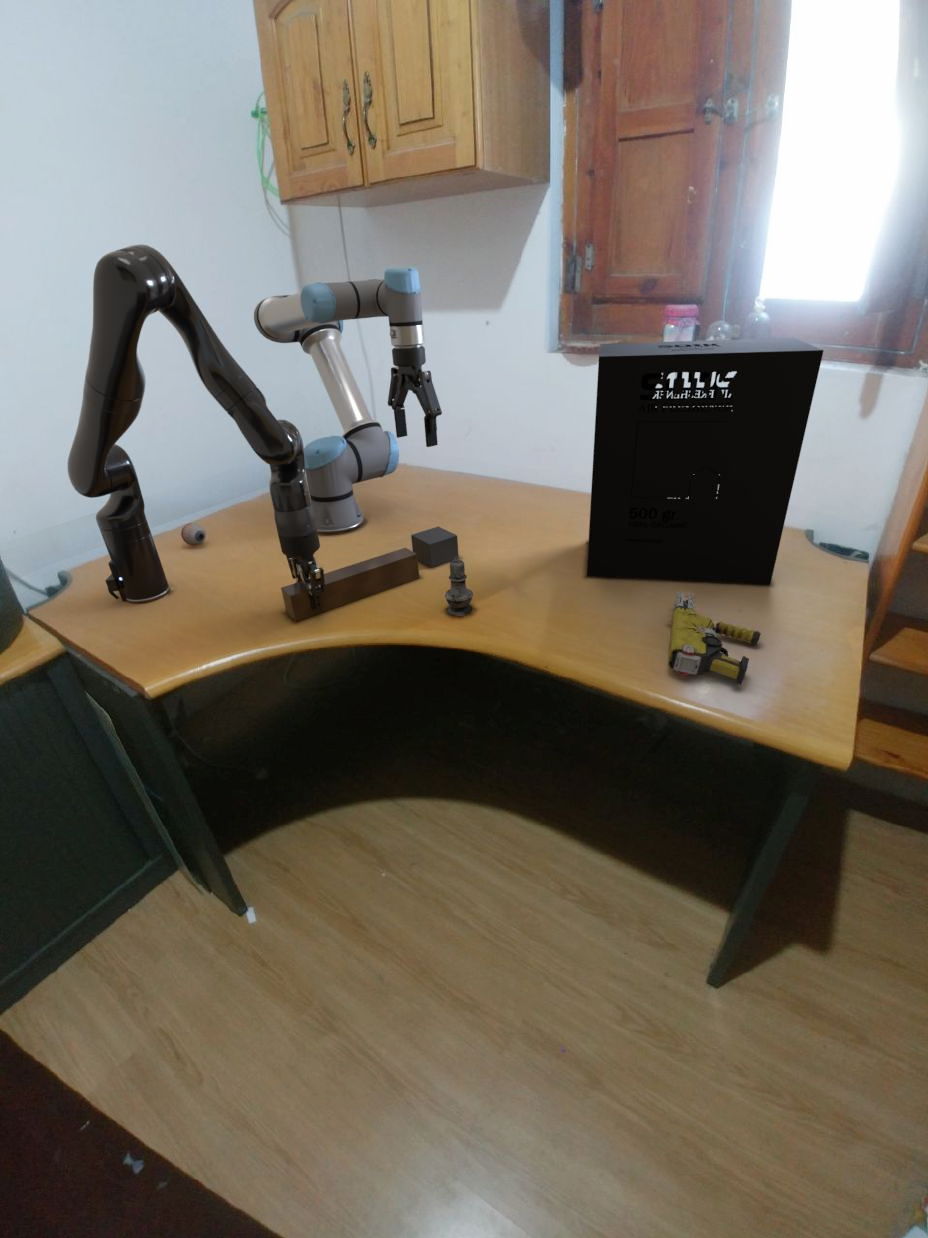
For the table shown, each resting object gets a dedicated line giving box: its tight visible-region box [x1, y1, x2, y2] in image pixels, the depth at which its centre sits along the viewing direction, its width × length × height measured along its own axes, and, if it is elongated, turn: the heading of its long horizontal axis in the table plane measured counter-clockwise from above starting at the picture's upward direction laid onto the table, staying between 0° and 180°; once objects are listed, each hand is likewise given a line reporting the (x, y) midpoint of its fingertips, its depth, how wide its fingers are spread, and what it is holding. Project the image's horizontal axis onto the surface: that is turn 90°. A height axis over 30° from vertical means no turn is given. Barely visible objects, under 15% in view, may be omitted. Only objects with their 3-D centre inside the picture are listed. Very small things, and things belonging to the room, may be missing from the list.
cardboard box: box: [586, 337, 824, 586], centre depth 127 cm, size 38×20×45 cm, turn 78°
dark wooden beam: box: [280, 547, 420, 623], centre depth 130 cm, size 30×5×6 cm, turn 126°
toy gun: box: [667, 591, 761, 686], centre depth 106 cm, size 5×24×15 cm
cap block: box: [410, 525, 460, 569], centre depth 145 cm, size 8×8×6 cm
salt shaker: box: [444, 556, 474, 617], centre depth 120 cm, size 6×6×12 cm
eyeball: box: [180, 522, 207, 547], centre depth 160 cm, size 6×6×6 cm
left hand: (312, 603), depth 126 cm, fingers closed on dark wooden beam, 5 cm apart
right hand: (416, 441), depth 147 cm, fingers open, 13 cm apart
